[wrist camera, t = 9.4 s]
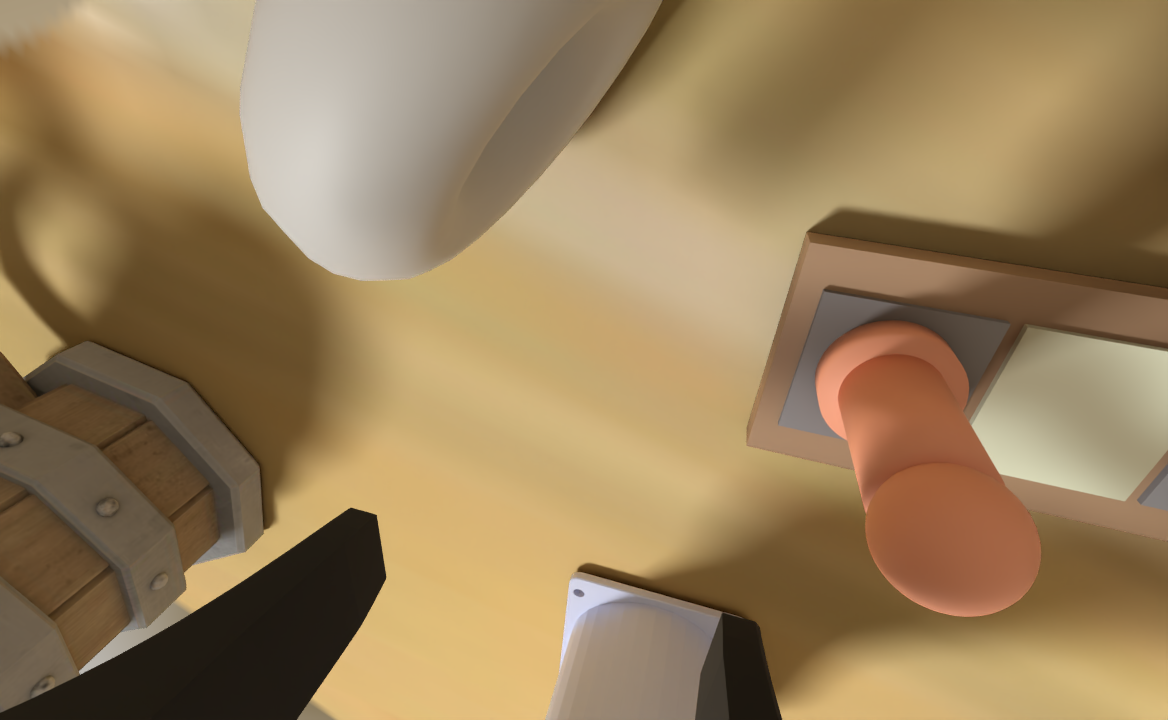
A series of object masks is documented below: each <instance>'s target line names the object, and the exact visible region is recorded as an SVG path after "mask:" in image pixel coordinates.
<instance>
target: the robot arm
mask: <svg viewBox="0 0 1168 720" xmlns="http://www.w3.org/2000/svg"><path fill="white" fill-rule="evenodd" d="M385 580H386V572H385V566H384V559H383V553H382V546H381V540H380V534H379V527H378V521H377V515H375V514H372V513H368V512H365V511H361V510H357V509H354V508H350V509H348V510H346V511H345V512H343V513H342V514H340V515H339V516H338V517H336V518H335V519H333V520H332V521H330V522H329V523H327V524H326V525H324V526H323V527H322V528H320V529H319V530H317V531H316V532H314V533H313V534H312V535H310V536H309V537H307V538H306V539H304V540H303V541H302V542H300V543H299V544H297V545H296V546H294V547H293V548H291V549H290V550H289V551H287V552H286V553H284V554H283V555H281V556H280V557H278V558H277V559H275V560H274V561H272V562H271V563H269V564H268V565H266V566H265V567H263V568H262V569H260V570H259V571H257V572H256V573H254V574H253V575H251V576H250V577H248V578H247V579H245V580H244V581H242V582H241V583H239V584H238V585H236V586H235V587H233V588H232V589H230V590H229V591H227V592H225V593H224V594H222V595H221V596H219V597H217V598H216V599H214V600H212V601H211V602H209V603H208V604H206V605H204V606H203V607H201V608H200V609H198V610H196V611H195V612H193V613H192V614H190V615H188V616H187V617H185V618H184V619H182V620H180V621H178V622H177V623H175V624H173V625H172V626H170V627H168V628H167V629H165V630H163V631H161V632H159V633H158V634H156V635H154V636H152V637H151V638H149V639H147V640H145V641H143V642H142V643H140V644H138V645H136V646H134V647H132V648H131V649H129V650H127V651H125V652H123V653H122V654H120V655H118V656H116V657H115V658H112V659H110V660H108V661H106V662H104V663H102V664H100V665H98V666H96V667H95V668H93V669H91V670H89V671H87V672H85V673H83V674H81V675H79V676H77V677H75V678H73V679H71V680H69V681H67V682H65V683H62V684H60V685H58V686H56V687H54V688H52V689H50V690H48V691H46V692H44V693H42V694H40V695H38V696H36V697H34V698H32V699H30V700H27V701H25V702H23V703H21V704H18V705H16V706H14V707H12V708H9V709H7V710H5V711H3V712H0V720H297V718H298V717H299V715H300V714H301V713H302V711H303V710H304V708H305V707H306V705H307V704H308V702H309V701H310V700H311V698H312V697H313V695H314V694H315V692H316V691H317V689H318V688H319V687H320V685H321V684H322V682H323V681H324V679H325V678H326V676H327V675H328V674H329V672H330V671H331V669H332V668H333V666H334V665H335V663H336V662H337V660H338V659H339V658H340V656H341V655H342V653H343V652H344V650H345V649H346V647H347V646H348V644H349V643H350V641H351V640H352V638H353V637H354V635H355V634H356V632H357V631H358V629H359V628H360V626H361V625H362V623H363V621H364V619H365V618H366V616H367V614H368V612H369V610H370V609H371V607H372V605H373V603H374V601H375V599H376V597H377V595H378V593H379V591H380V590H381V588H382V586H383V584H384V582H385ZM545 720H782V717H781V714H780V710H779V707H778V703H777V700H776V696H775V692H774V689H773V685H772V681H771V677H770V673H769V669H768V665H767V661H766V656H765V652H764V647H763V643H762V638H761V632H760V627H759V626H758V625H757V623H756V622H754V621H751V620H747V619H744V618H742V617H739V616H736V615H732V614H729V613H725V612H721V611H718V610H714V609H711V608H707V607H704V606H700V605H697V604H693V603H690V602H686V601H682V600H679V599H675V598H672V597H668V596H665V595H661V594H658V593H654V592H651V591H647V590H643V589H640V588H636V587H633V586H629V585H626V584H622V583H619V582H615V581H612V580H608V579H604V578H601V577H597V576H594V575H590V574H587V573H583V572H575V573H574V574H572V576H571V579H570V582H569V590H568V599H567V608H566V617H565V626H564V634H563V643H562V652H561V661H560V670H559V675H558V679H557V682H556V685H555V688H554V692H553V695H552V698H551V702H550V705H549V708H548V712H547V715H546V718H545Z"/></svg>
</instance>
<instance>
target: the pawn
mask: <svg viewBox="0 0 1168 720" xmlns="http://www.w3.org/2000/svg"><path fill="white" fill-rule="evenodd" d="M815 387H816V392H817V398H818V403H819V407H820V411H821V414H822V416H823V418H824V420H825V422H826V423H827V424H828V426H829V427H830V428H831V429H832V430H833V431H834V432H835V433H836V434H837V435H839V436H840V437H842V438H843V439H845V440H847V441H848V445H849V449H850V453H851V457H852V461H853V465H854V469H855V473H856V477H857V481H858V485H859V489H860V493H861V497H862V502H863V506H864V509H865V512H866V521H865V532H866V539H867V544H868V547H869V550H870V553H871V555H872V558H873V560H874V562H875V563H876V565H877V567H878V568H879V570H880V571H881V573H882V574H883V575H884V577H885V578H886V579H887V580H888V581H889V582H890V583H891V584H892V585H893V586H894V587H895V588H896V589H897V590H898V591H899V592H901V593H902V594H903V595H905V596H906V597H908V598H909V599H911V600H912V601H914V602H916V603H918V604H919V605H921V606H924V607H926V608H928V609H931V610H933V611H936V612H940V613H944V614H948V615H954V616H963V617H974V616H983V615H989V614H993V613H996V612H999V611H1001V610H1003V609H1006V608H1007V607H1009V606H1011V605H1013V604H1014V603H1016V602H1017V601H1018V600H1020V599H1021V598H1022V597H1023V596H1024V595H1025V594H1026V593H1027V591H1028V590H1029V589H1030V588H1031V586H1032V585H1033V583H1034V581H1035V579H1036V577H1037V574H1038V572H1039V567H1040V562H1041V542H1040V538H1039V535H1038V531H1037V527H1036V525H1035V523H1034V521H1033V519H1032V517H1031V515H1030V513H1029V512H1028V510H1027V509H1026V508H1025V506H1024V505H1023V504H1022V502H1021V501H1020V500H1019V499H1018V498H1017V497H1016V496H1015V495H1014V494H1013V493H1012V492H1011V491H1010V490H1009V489H1008V488H1007V487H1006V486H1005V483H1004V481H1003V479H1002V478H1001V476H1000V474H999V472H998V471H997V469H996V467H995V466H994V464H993V462H992V460H991V459H990V457H989V455H988V453H987V452H986V450H985V448H984V447H983V445H982V443H981V441H980V440H979V438H978V436H977V435H976V433H975V431H974V429H973V428H972V426H971V424H970V423H969V421H968V419H967V417H966V416H965V414H964V412H963V410H964V408H965V406H966V404H967V400H968V396H969V381H968V377H967V374H966V372H965V370H964V368H963V366H962V364H961V363H960V361H959V360H958V358H957V357H956V355H955V354H954V352H953V351H952V349H951V348H950V346H949V345H948V344H947V342H946V341H945V340H944V339H943V338H942V337H941V336H940V335H938V334H937V333H935V332H934V331H932V330H930V329H929V328H927V327H924V326H922V325H919V324H916V323H912V322H907V321H899V320H887V321H877V322H872V323H868V324H865V325H862V326H859V327H857V328H854V329H852V330H850V331H848V332H846V333H845V334H843V335H842V336H840V337H839V338H837V339H836V340H835V341H834V342H833V343H832V344H831V345H830V346H829V347H828V348H827V349H826V350H825V352H824V353H823V355H822V356H821V358H820V360H819V362H818V365H817V368H816V372H815Z"/></svg>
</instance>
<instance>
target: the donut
mask: <svg viewBox="0 0 1168 720" xmlns="http://www.w3.org/2000/svg"><path fill="white" fill-rule="evenodd" d="M662 1H663V0H256V2H255V7H254V13H253V18H252V24H251V30H250V35H249V41H248V47H247V52H246V58H245V64H244V69H243V75H242V80H241V86H240V119H241V125H242V131H243V137H244V143H245V149H246V155H247V161H248V167H249V173H250V179H251V181H252V184H253V186H254V188H255V191H256V193H257V196H258V198H259V200H260V203H261V205H262V208H263V209H264V210H265V211H266V212H267V213H268V214H269V216H270V217H271V218H272V219H273V220H274V221H275V222H276V223H277V225H278V226H279V227H280V228H281V229H282V230H283V231H284V233H285V234H286V235H287V236H288V237H289V238H290V239H291V240H292V241H293V242H294V243H295V244H296V245H297V247H298V248H299V249H300V250H301V251H302V252H303V253H304V254H305V255H306V256H307V257H308V258H309V259H310V260H312V261H314V262H315V263H317V264H319V265H320V266H322V267H323V268H325V269H327V270H328V271H330V272H332V273H333V274H337V275H341V276H345V277H349V278H353V279H357V280H361V281H374V280H400V279H411V278H413V277H415V276H418V275H420V274H423V273H425V272H428V271H430V270H432V269H434V268H436V267H438V266H440V265H442V264H444V263H445V262H447V261H449V260H451V259H453V258H454V257H455V256H457V255H458V254H459V253H461V252H462V251H463V250H464V249H466V248H467V247H468V246H470V245H471V244H472V243H473V242H475V241H476V240H477V239H479V238H480V237H481V236H482V235H483V234H484V233H485V232H486V231H487V230H488V229H489V228H490V227H491V226H492V225H493V224H495V223H496V222H497V221H498V220H499V219H500V218H501V217H502V216H503V215H504V214H505V213H506V212H507V211H508V210H509V209H510V208H511V207H512V206H513V205H514V204H515V203H516V202H517V201H518V200H519V198H520V197H521V196H522V195H523V194H524V193H525V192H526V191H527V190H528V189H529V188H530V187H531V186H532V185H533V184H534V183H535V181H536V180H537V179H538V178H539V177H540V176H541V175H542V174H543V172H544V171H545V170H546V169H547V168H548V167H549V165H550V164H551V163H552V162H553V161H554V160H555V158H556V157H557V156H558V155H559V154H560V152H561V151H562V150H563V149H564V148H565V147H566V145H567V144H568V143H569V141H570V140H571V139H572V138H573V136H574V135H575V134H576V132H577V131H578V130H579V129H580V127H581V126H582V125H583V123H584V122H585V121H586V120H587V118H588V117H589V116H590V114H591V113H592V112H593V110H594V109H595V108H596V106H597V105H598V103H599V102H600V100H601V99H602V98H603V96H604V95H605V93H606V92H607V90H608V89H609V88H610V86H611V85H612V83H613V82H614V81H615V79H616V78H617V76H618V75H619V73H620V72H621V70H622V69H623V68H624V66H625V64H626V63H627V61H628V60H629V58H630V56H631V55H632V53H633V52H634V50H635V48H636V47H637V45H638V44H639V42H640V40H641V39H642V37H643V36H644V34H645V32H646V31H647V29H648V28H649V26H650V24H651V22H652V20H653V18H654V16H655V14H656V12H657V11H658V9H659V7H660V5H661V3H662Z"/></svg>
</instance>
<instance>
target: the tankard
mask: <svg viewBox="0 0 1168 720" xmlns="http://www.w3.org/2000/svg"><path fill="white" fill-rule="evenodd" d="M263 534H264V531H263V515H262V499H261V483H260V467H259V464H258V463H257V461H256V460H255V459H254V458H253V457H252V456H251V454H250V453H249V452H248V451H247V450H246V449H245V448H244V446H243V445H242V444H241V443H240V442H239V441H238V439H237V438H236V437H235V436H234V435H233V434H232V433H231V431H230V430H229V429H228V428H227V427H226V426H225V424H224V423H223V422H222V421H221V420H220V419H219V418H218V416H217V415H216V414H215V413H214V412H213V411H212V410H211V408H210V407H209V406H208V405H207V404H206V403H205V401H204V400H203V399H202V398H201V397H200V396H199V395H198V393H197V392H196V391H195V390H194V389H193V388H192V386H191V385H190V384H189V383H188V382H185V381H183V380H181V379H178V378H176V377H173V376H171V375H169V374H166V373H164V372H162V371H159V370H157V369H155V368H152V367H150V366H148V365H145V364H143V363H141V362H138V361H136V360H133V359H131V358H129V357H126V356H124V355H122V354H119V353H117V352H115V351H112V350H110V349H108V348H105V347H103V346H101V345H98V344H96V343H93V342H90V341H85V342H83V343H81V344H78V345H76V346H74V347H72V348H70V349H67V350H65V351H63V352H61V353H58V354H57V355H55V356H54V357H52V358H51V359H50V360H48V361H47V362H45V363H44V364H42V365H41V366H39V367H38V368H36V369H35V370H34V371H32V372H31V373H29V374H28V375H26V376H25V377H23V378H22V376H21V375H20V374H19V373H18V372H17V370H16V369H15V368H14V367H13V366H12V364H11V363H10V362H9V361H8V360H7V358H6V357H5V356H4V355H3V354H2V353H1V352H0V712H3V711H5V710H7V709H9V708H12V707H14V706H16V705H18V704H21V703H23V702H25V701H27V700H30V699H32V698H34V697H36V696H38V695H40V694H42V693H44V692H46V691H48V690H50V689H52V688H54V687H56V686H58V685H60V684H62V683H65V682H67V681H69V680H71V679H73V678H75V677H77V676H79V675H80V674H79V670H80V669H82V668H83V667H84V666H85V665H86V664H87V663H88V662H89V661H90V660H91V659H92V658H93V657H94V656H95V655H96V654H97V653H99V652H100V651H101V650H102V649H103V648H104V647H105V646H106V645H107V644H108V643H109V642H110V641H111V640H112V639H114V638H115V637H116V636H117V635H118V634H119V633H120V632H124V631H129V630H135V629H141V628H147V627H148V626H149V625H150V624H151V623H152V622H153V621H154V620H155V619H156V618H157V617H158V616H159V615H160V614H161V613H163V612H164V611H165V610H166V609H167V608H168V607H169V606H170V605H171V604H172V603H173V602H174V601H175V600H176V599H177V598H178V597H179V596H180V595H181V594H182V593H183V592H184V591H185V590H186V580H185V576H184V572H185V571H186V570H187V569H189V568H190V567H191V566H192V565H195V564H199V563H203V562H207V561H211V560H215V559H219V558H223V557H227V556H231V555H235V554H239V553H243V552H246V551H247V550H248V549H249V548H250V547H251V546H252V545H253V544H254V543H255V542H256V541H257V540H258V539H259V538H260V537H261V536H262V535H263Z"/></svg>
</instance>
